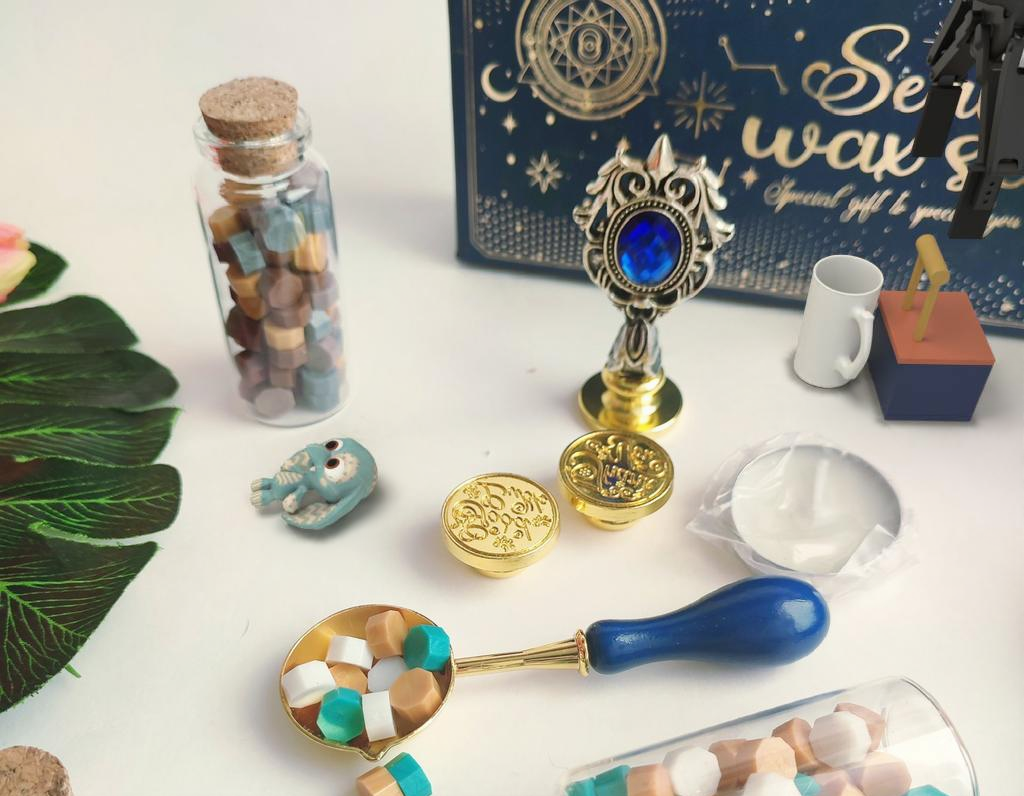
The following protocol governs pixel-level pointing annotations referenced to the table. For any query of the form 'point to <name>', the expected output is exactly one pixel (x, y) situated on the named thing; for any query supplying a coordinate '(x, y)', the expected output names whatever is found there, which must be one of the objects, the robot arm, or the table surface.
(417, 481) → the table surface
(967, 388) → the blue open box
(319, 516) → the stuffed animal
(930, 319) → the lid
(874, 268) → the mug
